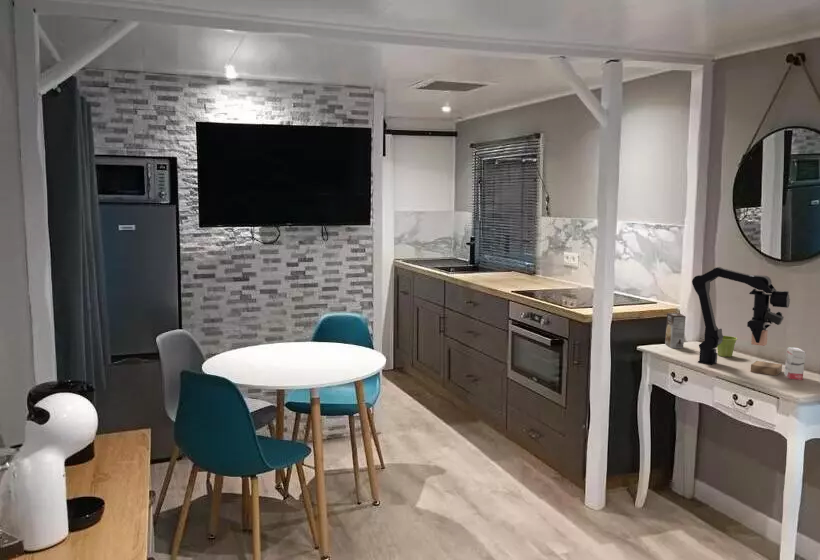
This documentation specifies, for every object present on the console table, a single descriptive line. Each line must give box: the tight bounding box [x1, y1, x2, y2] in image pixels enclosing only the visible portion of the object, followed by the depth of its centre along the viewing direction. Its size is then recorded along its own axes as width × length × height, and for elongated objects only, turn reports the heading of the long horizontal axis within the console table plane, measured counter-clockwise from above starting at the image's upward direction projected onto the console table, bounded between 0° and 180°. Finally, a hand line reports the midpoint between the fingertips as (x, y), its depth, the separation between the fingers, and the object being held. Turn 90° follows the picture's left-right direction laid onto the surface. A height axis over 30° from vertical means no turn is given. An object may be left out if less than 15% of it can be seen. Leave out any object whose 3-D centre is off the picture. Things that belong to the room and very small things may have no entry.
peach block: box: [750, 329, 768, 347], centre depth 301 cm, size 5×5×6 cm
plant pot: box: [716, 335, 738, 358], centre depth 331 cm, size 9×9×9 cm
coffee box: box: [664, 312, 686, 349], centre depth 349 cm, size 9×6×16 cm
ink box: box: [783, 346, 807, 381], centre depth 291 cm, size 9×5×12 cm, turn 168°
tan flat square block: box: [750, 360, 783, 377], centre depth 301 cm, size 10×10×3 cm
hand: (759, 341), depth 302 cm, fingers closed on peach block, 5 cm apart
